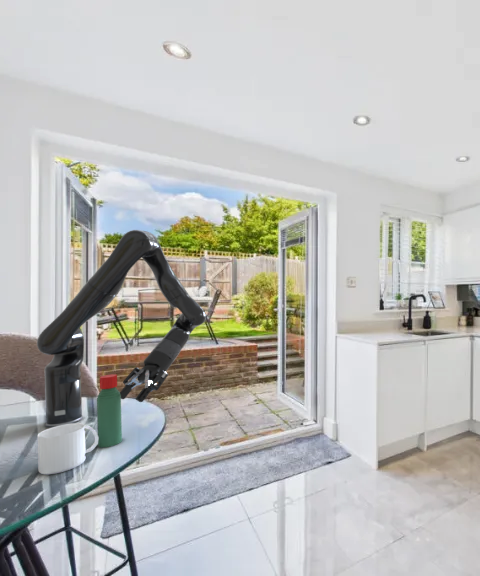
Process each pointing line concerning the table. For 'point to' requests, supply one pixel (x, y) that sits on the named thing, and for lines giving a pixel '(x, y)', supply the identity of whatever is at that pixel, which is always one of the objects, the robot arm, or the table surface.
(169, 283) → the robot arm
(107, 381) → the cap
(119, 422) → the bottle
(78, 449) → the mug
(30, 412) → the table surface
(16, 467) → the table surface
